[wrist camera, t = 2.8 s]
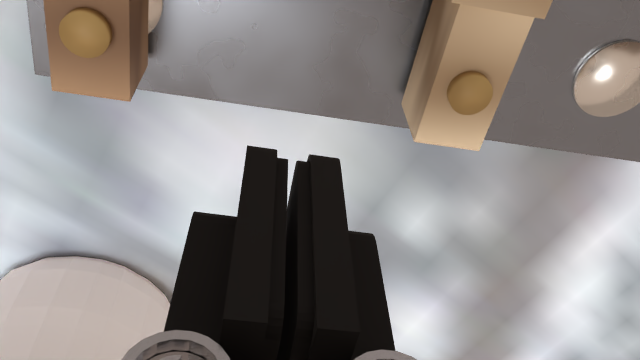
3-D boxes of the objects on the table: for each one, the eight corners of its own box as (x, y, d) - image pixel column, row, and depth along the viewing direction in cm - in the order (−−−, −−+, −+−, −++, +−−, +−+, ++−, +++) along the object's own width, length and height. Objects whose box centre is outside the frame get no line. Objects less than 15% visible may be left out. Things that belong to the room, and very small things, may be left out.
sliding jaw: (477, -185, 16) (514, -178, 14) (571, -163, 17) (625, -152, 14) (393, 100, 22) (407, 146, 19) (465, 111, 22) (490, 158, 20)
